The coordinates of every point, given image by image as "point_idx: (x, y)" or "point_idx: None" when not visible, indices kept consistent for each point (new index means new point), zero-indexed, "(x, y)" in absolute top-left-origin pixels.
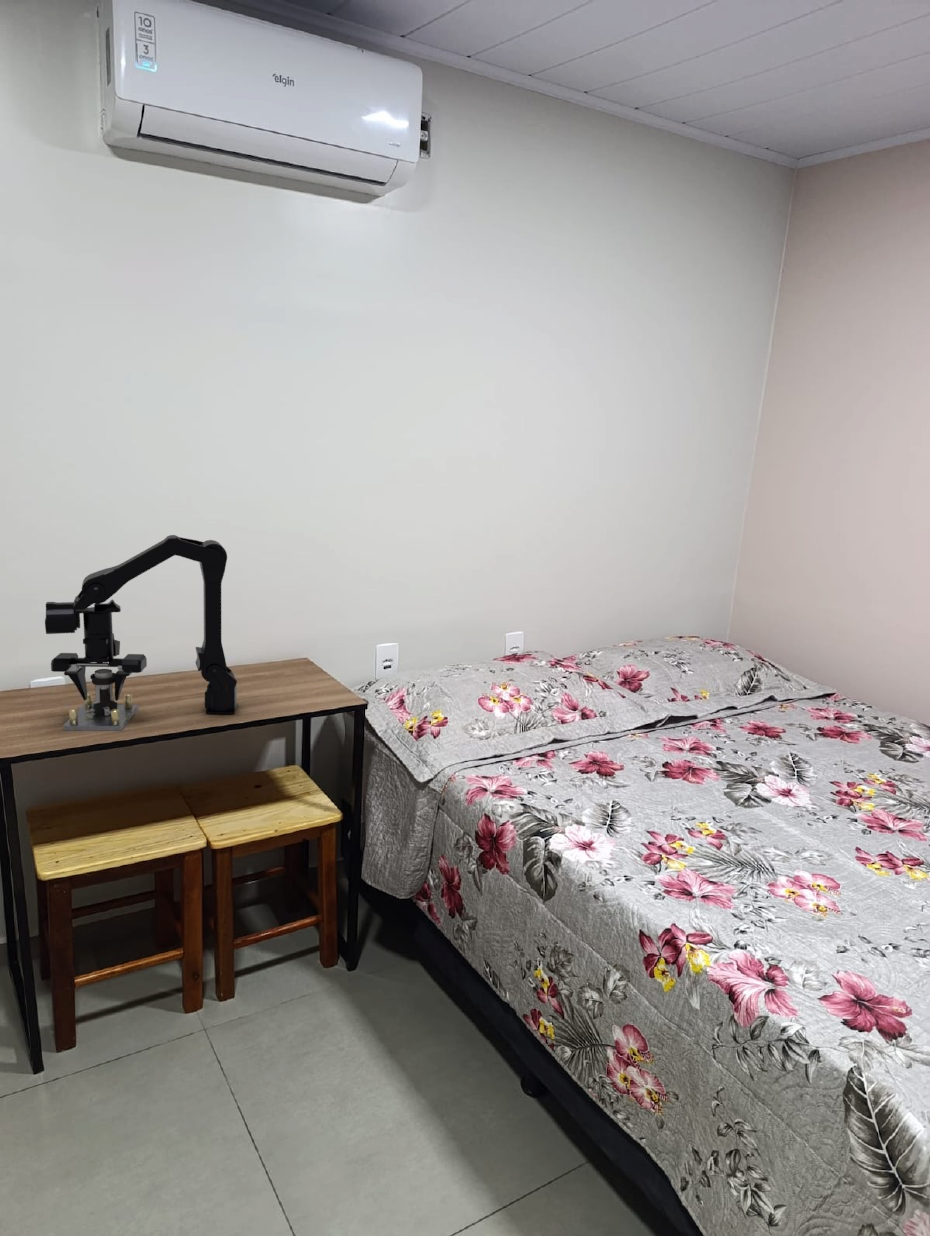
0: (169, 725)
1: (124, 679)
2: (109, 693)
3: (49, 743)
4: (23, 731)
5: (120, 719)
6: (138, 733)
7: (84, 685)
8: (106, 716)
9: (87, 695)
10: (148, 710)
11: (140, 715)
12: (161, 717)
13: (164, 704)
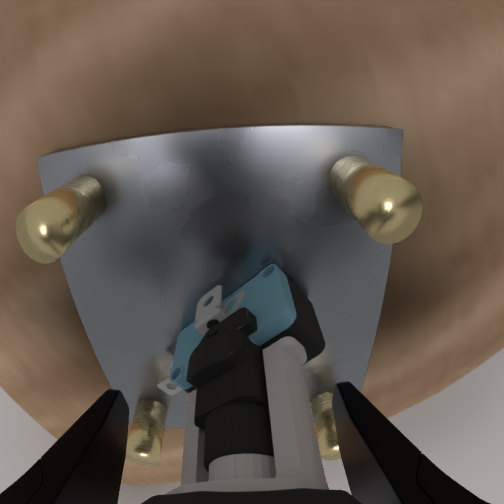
0: (495, 329)
1: (448, 496)
2: (277, 395)
3: (163, 467)
4: (37, 404)
5: (341, 367)
6: (402, 404)
7: (94, 490)
8: None
9: (47, 263)
10: (444, 151)
11: (415, 236)
12: (490, 255)
13: (491, 58)
